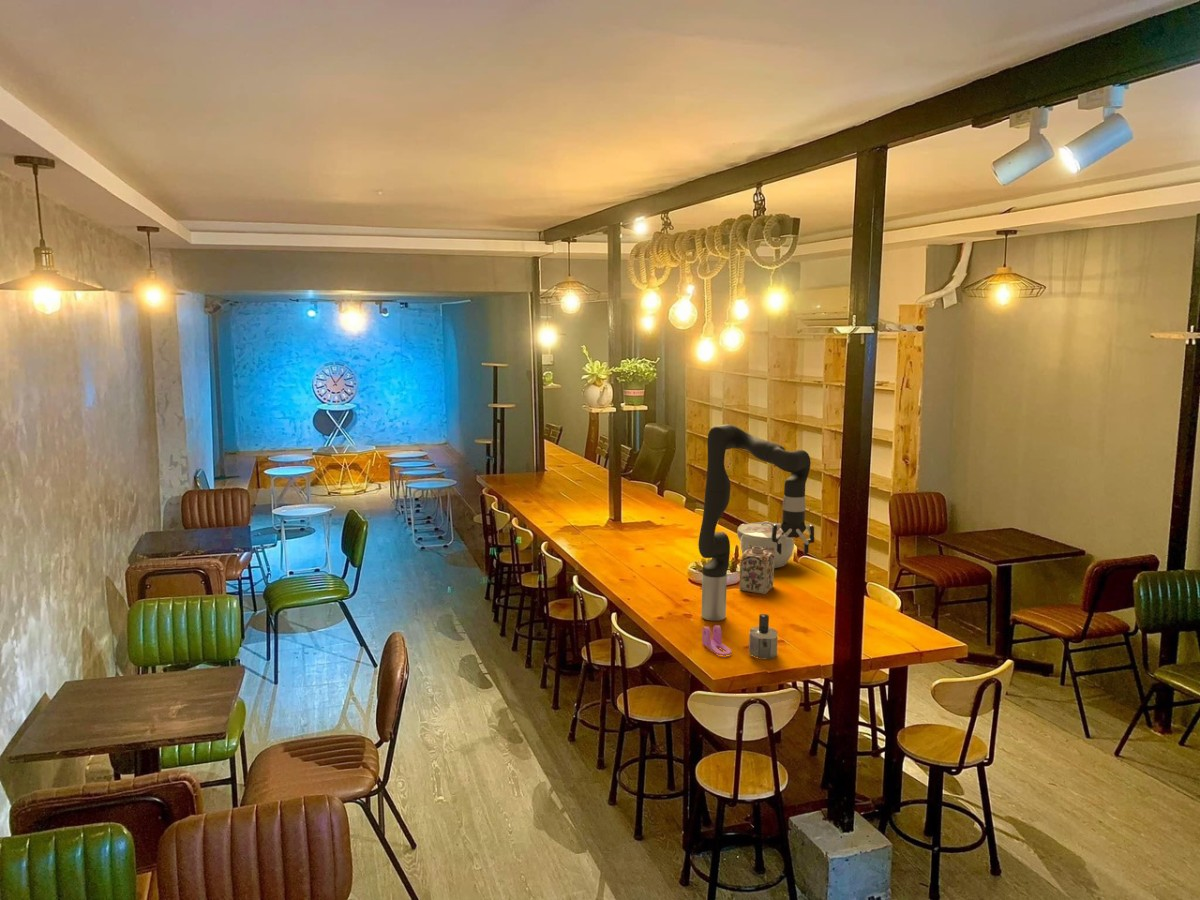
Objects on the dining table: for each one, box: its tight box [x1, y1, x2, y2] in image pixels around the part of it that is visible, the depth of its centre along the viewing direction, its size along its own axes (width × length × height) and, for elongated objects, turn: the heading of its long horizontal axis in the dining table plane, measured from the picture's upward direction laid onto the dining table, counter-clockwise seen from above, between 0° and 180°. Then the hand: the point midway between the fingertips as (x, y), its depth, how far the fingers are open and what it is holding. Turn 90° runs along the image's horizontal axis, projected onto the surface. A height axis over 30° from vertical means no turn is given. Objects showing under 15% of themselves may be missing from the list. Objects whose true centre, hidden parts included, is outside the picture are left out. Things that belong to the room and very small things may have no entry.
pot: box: [748, 634, 778, 660], centre depth 284 cm, size 13×9×7 cm
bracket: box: [701, 624, 732, 656], centre depth 288 cm, size 13×6×7 cm, turn 20°
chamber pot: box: [736, 520, 795, 569], centre depth 384 cm, size 28×28×21 cm
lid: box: [749, 613, 778, 640], centre depth 283 cm, size 9×9×7 cm
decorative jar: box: [739, 547, 775, 595], centre depth 351 cm, size 12×12×18 cm
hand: (792, 553), depth 287 cm, fingers open, 8 cm apart
